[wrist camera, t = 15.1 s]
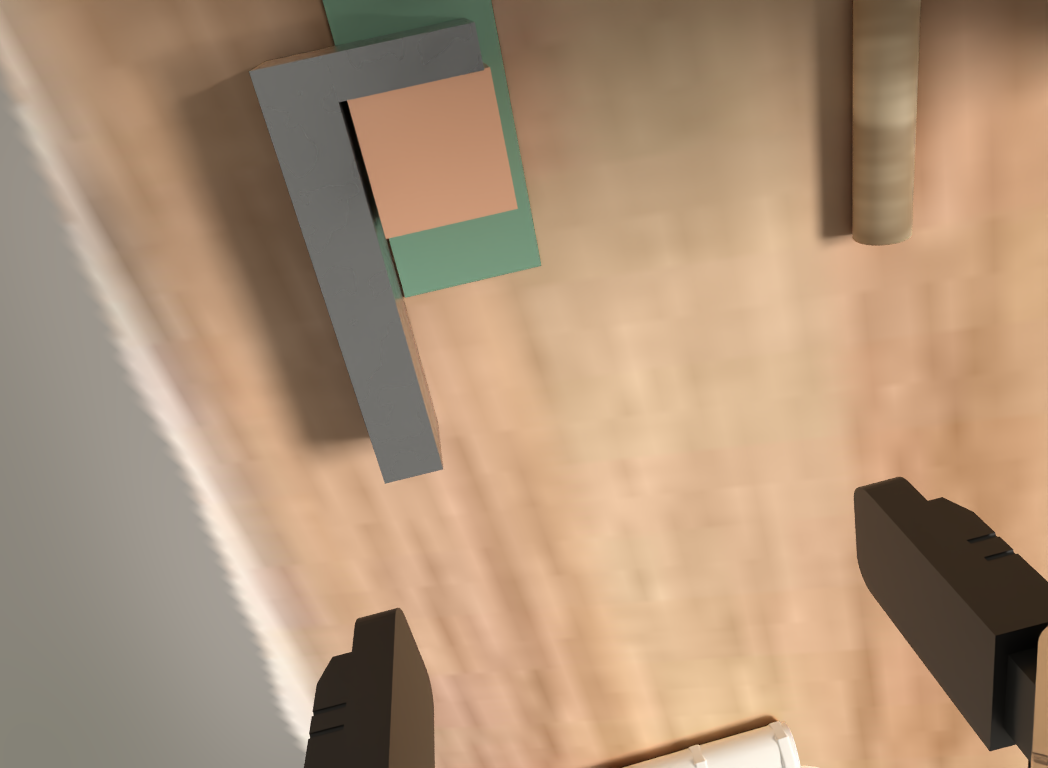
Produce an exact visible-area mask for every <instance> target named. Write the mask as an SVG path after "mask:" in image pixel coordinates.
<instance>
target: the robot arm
mask: <svg viewBox="0 0 1048 768" xmlns="http://www.w3.org/2000/svg"><path fill="white" fill-rule="evenodd" d="M854 510H855V528H856V546H857V559H858V564H859V568H860V571H861V574H862V577H863V579H864V581H865V583H866V585H867V587H868V589H869V591H870V592H871V594H872V595H873V596H874V598H875V599H876V600H877V602H878V603H879V604H880V606H881V607H882V608H883V610H884V611H885V612H886V614H887V615H888V616H889V618H890V619H891V620H892V622H893V623H894V624H895V626H896V627H897V628H898V630H899V631H900V632H901V634H902V635H903V636H904V638H905V639H906V640H907V642H908V643H909V644H910V646H911V647H912V648H913V650H914V651H915V652H916V654H917V655H918V656H919V658H920V659H921V660H922V662H923V663H924V664H925V666H926V667H927V668H928V670H929V671H930V672H931V674H932V675H933V676H934V678H935V679H936V680H937V682H938V683H939V684H940V686H941V687H942V688H943V690H944V691H945V692H946V694H947V695H948V696H949V698H950V699H951V700H952V702H953V703H954V704H955V706H956V707H957V708H958V710H959V711H960V712H961V714H962V715H963V716H964V718H965V719H966V720H967V722H968V723H969V724H970V726H971V727H972V728H973V730H974V731H975V732H976V734H977V735H978V736H979V738H980V739H981V740H982V742H983V743H984V744H985V746H986V747H987V748H988V750H989V751H993V750H997V749H1000V748H1004V747H1008V746H1012V745H1017V746H1018V747H1019V749H1020V750H1021V751H1022V752H1023V754H1024V755H1025V756H1026V757H1027V759H1028V768H1048V582H1047V581H1046V580H1045V579H1044V578H1043V577H1042V576H1041V575H1040V574H1039V573H1038V572H1037V571H1036V570H1035V569H1033V568H1032V567H1031V566H1030V565H1029V564H1028V563H1027V562H1026V561H1025V560H1024V559H1023V558H1022V557H1021V556H1020V555H1019V554H1015V553H1014V552H1013V549H1012V548H1011V547H1010V546H1009V545H1008V544H1007V543H1006V542H1005V541H1004V540H1003V539H1002V538H1000V537H997V536H996V534H995V532H994V531H993V530H992V529H991V528H990V527H989V526H988V525H987V524H986V523H984V522H983V521H982V520H981V519H980V518H979V517H978V516H977V515H976V514H975V513H974V512H972V511H970V510H968V509H966V508H964V507H962V506H960V505H958V504H955V503H953V502H951V501H949V500H947V499H945V498H943V497H941V498H937V499H934V500H930V501H927V500H926V499H925V498H924V497H923V496H922V495H921V494H920V493H919V492H918V491H917V490H916V489H915V488H914V487H913V486H912V485H911V484H910V483H909V482H908V481H907V480H906V479H904V478H903V477H896V478H892V479H888V480H885V481H881V482H877V483H873V484H869V485H866V486H862V487H858V488H856V490H855V492H854ZM313 714H314V716H312V719H311V726H310V732H309V734H310V739H308V745H307V751H306V758H305V764H304V768H435V756H434V703H433V695H432V689H431V684H430V680H429V676H428V673H427V670H426V667H425V665H424V662H423V660H422V657H421V655H420V652H419V650H418V647H417V645H416V642H415V640H414V637H413V635H412V633H411V630H410V628H409V625H408V623H407V620H406V618H405V616H404V613H403V612H402V610H401V609H400V608H396V609H392V610H388V611H384V612H380V613H377V614H373V615H369V616H365V617H362V618H358V619H357V620H356V623H355V629H354V638H353V647H352V652H350V653H346V654H342V655H338V656H335V657H332V659H331V660H330V662H329V664H328V666H327V667H326V669H325V671H324V673H323V674H322V676H321V678H320V679H319V681H318V683H317V687H316V693H315V700H314V706H313Z"/></svg>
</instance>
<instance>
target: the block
mask: <svg viewBox="0 0 1048 768" xmlns="http://www.w3.org/2000/svg"><path fill="white" fill-rule="evenodd" d="M483 66H484V70H483V71H478V72H474V73H469V74H465V75H460V76H455V77H451V78H446V79H442V80H437V81H433V82H428V83H424V84H419V85H415V86H410V87H406V88H401V89H397V90H392V91H388V92H383V93H379V94H374V95H370V96H365V97H361V98H356V99H351V100H347V102H348V105H349V109H350V112H351V116H352V120H353V123H354V127H355V130H356V134H357V137H358V141H359V145H360V148H361V152H362V155H363V159H364V163H365V166H366V170H367V173H368V177H369V180H370V184H371V188H372V191H373V195H374V198H375V202H376V205H377V209H378V213H379V216H380V220H381V223H382V227H383V230H384V234H385V238H386V239H389V238H393V237H397V236H402V235H406V234H410V233H415V232H419V231H423V230H428V229H432V228H436V227H441V226H445V225H449V224H454V223H458V222H462V221H467V220H471V219H475V218H480V217H484V216H488V215H493V214H497V213H502V212H506V211H510V210H515V209H518V207H517V202H516V197H515V192H514V187H513V181H512V176H511V171H510V166H509V161H508V156H507V151H506V146H505V141H504V136H503V131H502V125H501V120H500V115H499V110H498V105H497V100H496V95H495V90H494V85H493V80H492V74H491V69H490V67H489V66H488V65H487V64H485V63H484V62H483Z"/></svg>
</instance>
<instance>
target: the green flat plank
mask: <svg viewBox="0 0 1048 768" xmlns="http://www.w3.org/2000/svg"><path fill="white" fill-rule="evenodd" d="M323 4H324V7H325V11H326V15H327V18H328V22H329V25H330V29H331V33H332V36H333V40H334V43H335V46H337V45H342V44H346V43H351V42H355V41H360V40H365V39H369V38H374V37H378V36H383V35H388V34H392V33H397V32H401V31H406V30H411V29H415V28H420V27H424V26H429V25H434V24H438V23H443V22H447V21H452V20H457V19H461V18H466V19H469V20H471V21H473V22H475V26H476V31H477V36H478V41H479V46H480V51H481V56H482V61H483V62H484V63H485V64H487V65H488V66H489V67H490V69H491V74H492V80H493V85H494V90H495V95H496V100H497V105H498V110H499V115H500V120H501V125H502V131H503V136H504V141H505V146H506V151H507V156H508V161H509V166H510V171H511V176H512V181H513V187H514V192H515V197H516V202H517V207H518V209H515V210H510V211H506V212H502V213H497V214H493V215H488V216H484V217H480V218H475V219H471V220H467V221H462V222H458V223H454V224H449V225H445V226H441V227H436V228H432V229H428V230H423V231H419V232H415V233H410V234H406V235H402V236H397V237H393V238H389V241H390V245H391V248H392V252H393V255H394V259H395V263H396V266H397V270H398V273H399V277H400V280H401V284H402V288H403V291H404V295H405V298H406V297H410V296H414V295H419V294H423V293H427V292H431V291H436V290H440V289H444V288H448V287H453V286H457V285H461V284H466V283H470V282H474V281H478V280H483V279H487V278H491V277H495V276H500V275H504V274H508V273H512V272H517V271H521V270H525V269H530V268H534V267H538V266H541V262H540V256H539V251H538V246H537V240H536V235H535V230H534V225H533V219H532V214H531V209H530V203H529V198H528V193H527V188H526V182H525V177H524V172H523V166H522V161H521V156H520V151H519V145H518V140H517V135H516V129H515V124H514V119H513V113H512V108H511V103H510V98H509V92H508V87H507V82H506V76H505V71H504V66H503V61H502V55H501V50H500V45H499V39H498V34H497V29H496V24H495V18H494V13H493V8H492V2H491V0H323Z"/></svg>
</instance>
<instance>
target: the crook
mask: <svg viewBox="0 0 1048 768" xmlns="http://www.w3.org/2000/svg"><path fill="white" fill-rule="evenodd" d="M483 70H484V66H483V61H482V56H481V51H480V46H479V41H478V36H477V31H476V26H475V22H473V21H471V20H469V19H466V18H461V19H457V20H452V21H447V22H443V23H438V24H434V25H429V26H424V27H420V28H415V29H411V30H406V31H401V32H397V33H392V34H388V35H383V36H378V37H374V38H369V39H365V40H360V41H355V42H351V43H346V44H342V45H337V46H333V47H328V48H323V49H319V50H314V51H310V52H305V53H300V54H296V55H291V56H287V57H282V58H277V59H273V60H268V61H265V62H263V63H262V64H260V65H259V66H257V67H255V68H254V69H252V70H250V71H249V73H250V76H251V79H252V82H253V85H254V88H255V91H256V94H257V97H258V100H259V103H260V107H261V110H262V113H263V116H264V119H265V122H266V125H267V128H268V131H269V134H270V137H271V140H272V143H273V146H274V149H275V152H276V155H277V158H278V161H279V164H280V167H281V170H282V173H283V176H284V179H285V182H286V185H287V188H288V191H289V194H290V197H291V200H292V203H293V206H294V209H295V212H296V215H297V218H298V222H299V225H300V228H301V231H302V234H303V237H304V240H305V243H306V246H307V249H308V252H309V255H310V258H311V261H312V264H313V267H314V270H315V273H316V276H317V279H318V282H319V285H320V288H321V291H322V294H323V297H324V300H325V303H326V306H327V309H328V312H329V315H330V318H331V321H332V324H333V327H334V330H335V333H336V337H337V340H338V343H339V346H340V349H341V352H342V355H343V358H344V361H345V364H346V367H347V370H348V373H349V376H350V379H351V382H352V385H353V388H354V391H355V394H356V397H357V400H358V403H359V406H360V409H361V412H362V415H363V418H364V421H365V424H366V427H367V430H368V433H369V436H370V439H371V442H372V445H373V448H374V452H375V455H376V458H377V461H378V464H379V467H380V470H381V473H382V476H383V479H384V482H385V483H389V482H393V481H397V480H401V479H406V478H410V477H414V476H418V475H422V474H426V473H430V472H434V471H438V470H442V469H443V463H442V454H441V445H440V436H439V427H438V421H437V418H436V414H435V410H434V407H433V403H432V400H431V396H430V393H429V389H428V385H427V382H426V378H425V375H424V371H423V368H422V364H421V360H420V357H419V353H418V350H417V346H416V343H415V339H414V335H413V332H412V328H411V325H410V321H409V318H408V314H407V310H406V307H405V303H404V300H403V296H402V293H401V289H400V285H399V282H398V278H397V275H396V271H395V268H394V264H393V260H392V257H391V253H390V250H389V246H388V243H387V239H386V238H385V234H384V230H383V227H382V223H381V220H380V216H379V213H378V209H377V205H376V202H375V198H374V195H373V191H372V188H371V184H370V180H369V177H368V173H367V170H366V166H365V163H364V159H363V155H362V152H361V148H360V145H359V141H358V137H357V134H356V130H355V127H354V123H353V120H352V116H351V112H350V109H349V105H348V102H347V100H351V99H356V98H361V97H365V96H370V95H374V94H379V93H383V92H388V91H392V90H397V89H401V88H406V87H410V86H415V85H419V84H424V83H428V82H433V81H437V80H442V79H446V78H451V77H455V76H460V75H465V74H469V73H474V72H478V71H483Z"/></svg>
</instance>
